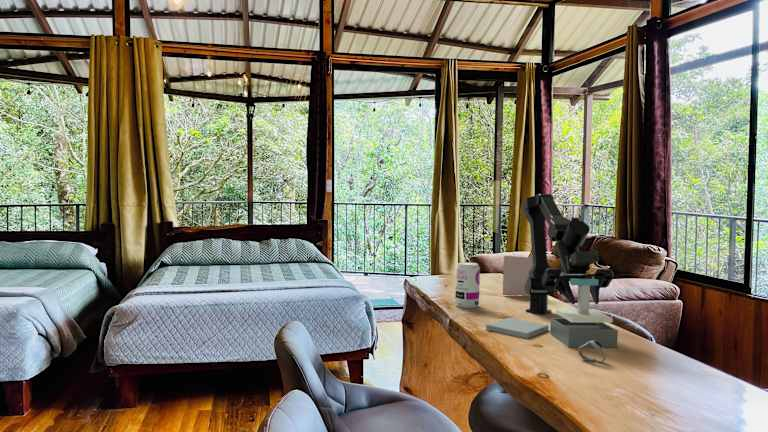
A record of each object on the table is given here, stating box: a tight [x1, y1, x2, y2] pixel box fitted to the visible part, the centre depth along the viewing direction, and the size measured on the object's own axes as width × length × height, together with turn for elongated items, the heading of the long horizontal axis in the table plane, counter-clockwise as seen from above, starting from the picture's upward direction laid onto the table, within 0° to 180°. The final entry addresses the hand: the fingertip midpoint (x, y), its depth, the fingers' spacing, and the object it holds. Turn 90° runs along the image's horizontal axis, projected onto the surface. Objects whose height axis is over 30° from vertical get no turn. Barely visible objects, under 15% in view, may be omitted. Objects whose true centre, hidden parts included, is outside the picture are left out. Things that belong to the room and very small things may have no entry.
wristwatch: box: [578, 341, 607, 364], centre depth 128 cm, size 4×6×5 cm, turn 58°
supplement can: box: [454, 261, 481, 309], centre depth 187 cm, size 8×8×15 cm
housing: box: [549, 317, 619, 348], centre depth 145 cm, size 13×13×4 cm
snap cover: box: [555, 279, 614, 324], centre depth 145 cm, size 11×11×10 cm
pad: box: [485, 317, 550, 339], centre depth 156 cm, size 13×13×2 cm
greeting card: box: [502, 255, 533, 297], centre depth 208 cm, size 11×7×15 cm, turn 58°
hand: (585, 303), depth 144 cm, fingers closed on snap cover, 6 cm apart
